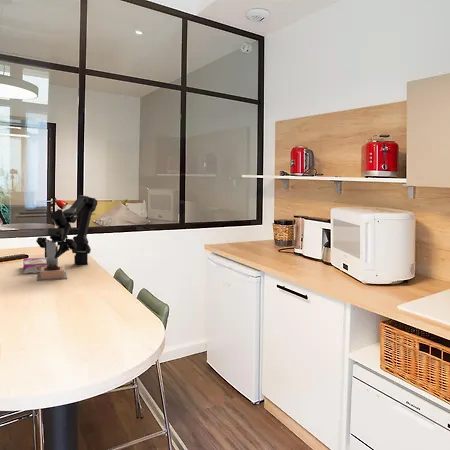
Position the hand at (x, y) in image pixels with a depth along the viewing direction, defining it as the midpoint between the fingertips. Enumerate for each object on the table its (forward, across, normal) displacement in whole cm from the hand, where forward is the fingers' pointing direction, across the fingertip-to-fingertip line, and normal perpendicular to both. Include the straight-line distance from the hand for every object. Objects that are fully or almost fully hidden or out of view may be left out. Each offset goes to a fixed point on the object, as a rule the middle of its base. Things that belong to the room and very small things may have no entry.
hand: (50, 257), depth 191 cm
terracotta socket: (+6, 0, +8) cm, 10 cm away
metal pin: (+4, 0, +6) cm, 7 cm away
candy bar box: (-8, -20, +19) cm, 29 cm away
